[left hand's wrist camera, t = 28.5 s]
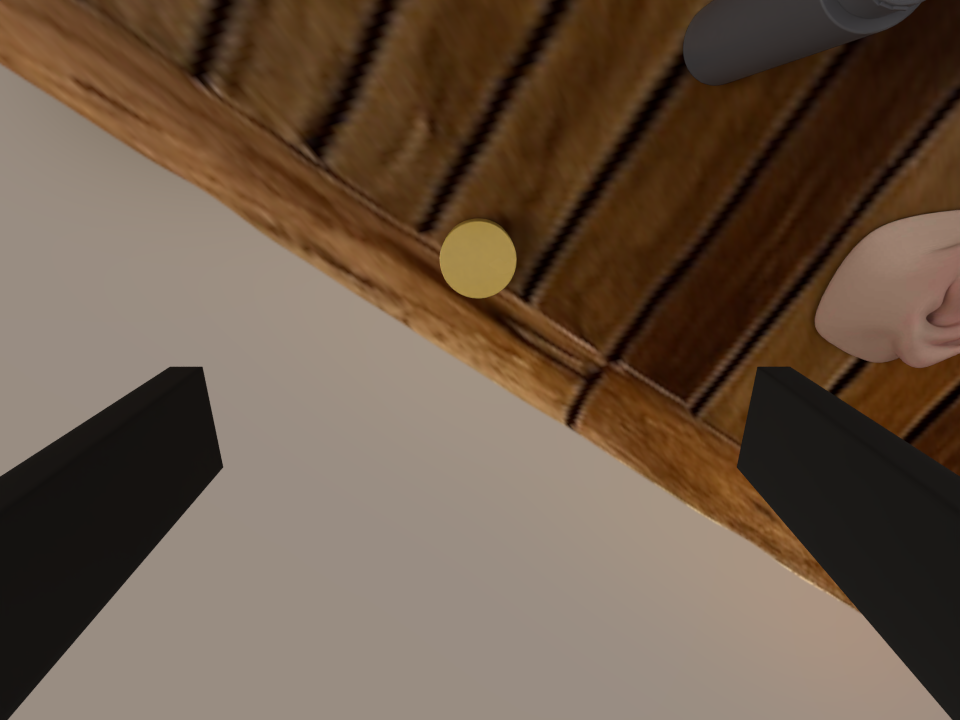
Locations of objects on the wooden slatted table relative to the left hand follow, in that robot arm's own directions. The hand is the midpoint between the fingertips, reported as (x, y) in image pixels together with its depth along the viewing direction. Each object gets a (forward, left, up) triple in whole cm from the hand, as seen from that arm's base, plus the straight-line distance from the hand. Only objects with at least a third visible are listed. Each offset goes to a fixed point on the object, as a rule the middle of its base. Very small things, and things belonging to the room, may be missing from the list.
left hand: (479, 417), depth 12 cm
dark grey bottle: (-19, +7, -26) cm, 33 cm away
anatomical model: (-13, +29, -26) cm, 41 cm away
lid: (0, 0, -24) cm, 24 cm away
